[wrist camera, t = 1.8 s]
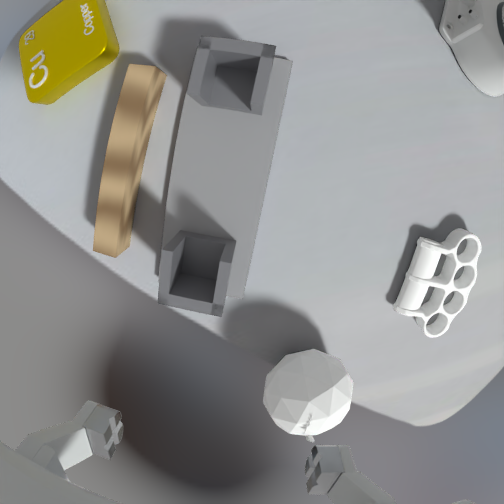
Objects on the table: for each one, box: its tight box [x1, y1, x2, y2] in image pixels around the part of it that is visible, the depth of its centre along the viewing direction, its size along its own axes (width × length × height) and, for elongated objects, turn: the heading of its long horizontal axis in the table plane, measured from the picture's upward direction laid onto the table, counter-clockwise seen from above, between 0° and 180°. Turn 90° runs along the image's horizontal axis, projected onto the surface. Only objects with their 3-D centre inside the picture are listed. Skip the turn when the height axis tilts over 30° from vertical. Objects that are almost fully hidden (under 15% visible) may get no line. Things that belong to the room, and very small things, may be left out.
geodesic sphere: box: [263, 349, 353, 442], centre depth 40 cm, size 14×14×14 cm
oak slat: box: [93, 64, 167, 258], centre depth 34 cm, size 24×4×5 cm, turn 165°
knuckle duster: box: [393, 228, 481, 337], centre depth 39 cm, size 3×18×15 cm
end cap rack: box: [158, 36, 293, 317], centre depth 32 cm, size 32×12×9 cm, turn 169°
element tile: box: [19, 0, 119, 105], centre depth 28 cm, size 15×15×5 cm
